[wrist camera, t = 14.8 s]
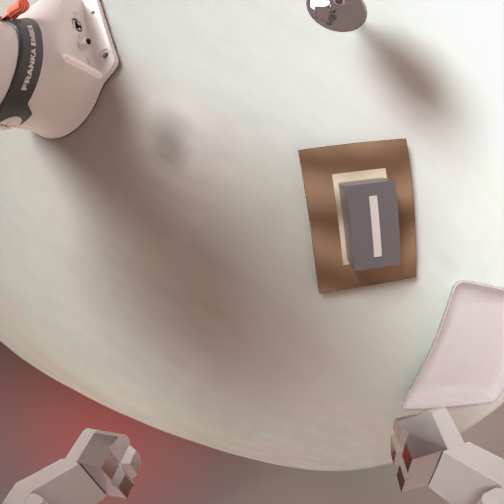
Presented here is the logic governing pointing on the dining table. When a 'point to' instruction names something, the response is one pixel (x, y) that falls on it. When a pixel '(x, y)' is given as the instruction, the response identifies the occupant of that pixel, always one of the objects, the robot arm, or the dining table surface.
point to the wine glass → (338, 13)
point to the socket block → (370, 223)
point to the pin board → (330, 212)
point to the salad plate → (464, 351)
